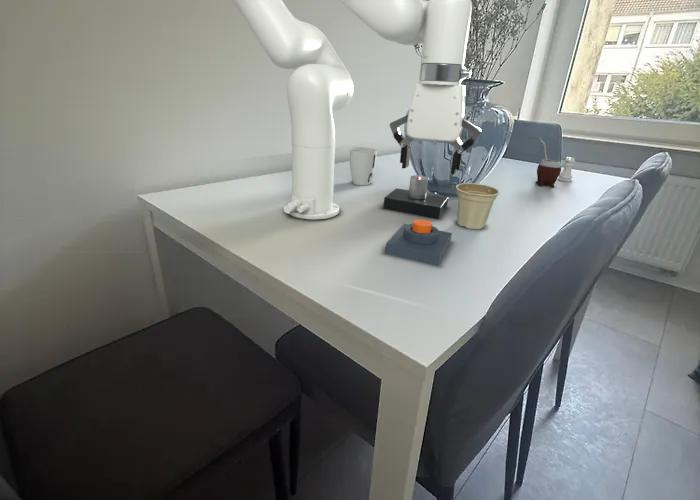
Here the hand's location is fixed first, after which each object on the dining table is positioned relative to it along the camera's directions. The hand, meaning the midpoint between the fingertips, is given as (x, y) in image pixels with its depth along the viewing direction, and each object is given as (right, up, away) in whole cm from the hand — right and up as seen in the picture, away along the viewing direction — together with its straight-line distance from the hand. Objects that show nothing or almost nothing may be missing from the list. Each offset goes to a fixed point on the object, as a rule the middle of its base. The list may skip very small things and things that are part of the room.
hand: (428, 169), depth 77 cm
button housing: (-2, -16, -1) cm, 16 cm away
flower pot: (+12, -10, +13) cm, 20 cm away
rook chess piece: (+60, +8, +60) cm, 85 cm away
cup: (-12, +4, +41) cm, 43 cm away
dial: (+1, -3, +20) cm, 20 cm away
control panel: (+1, -5, +22) cm, 22 cm away
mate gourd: (+49, +6, +52) cm, 72 cm away
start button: (-2, -12, -3) cm, 13 cm away
